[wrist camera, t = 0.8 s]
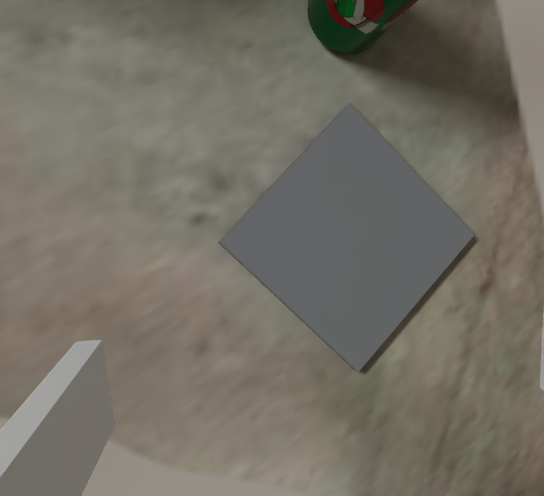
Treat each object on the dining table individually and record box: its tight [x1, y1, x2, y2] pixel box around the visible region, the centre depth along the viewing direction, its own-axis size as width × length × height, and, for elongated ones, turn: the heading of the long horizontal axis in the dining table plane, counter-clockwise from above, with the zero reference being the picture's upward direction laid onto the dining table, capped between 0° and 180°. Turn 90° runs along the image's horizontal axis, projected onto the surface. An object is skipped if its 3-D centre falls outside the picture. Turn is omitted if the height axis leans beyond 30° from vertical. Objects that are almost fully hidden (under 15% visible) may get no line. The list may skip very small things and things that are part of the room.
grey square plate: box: [218, 103, 475, 372], centre depth 32 cm, size 12×12×1 cm
